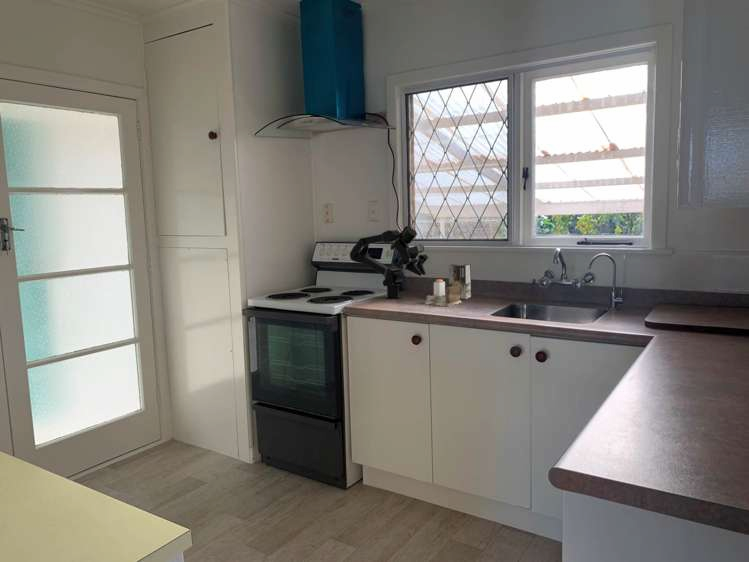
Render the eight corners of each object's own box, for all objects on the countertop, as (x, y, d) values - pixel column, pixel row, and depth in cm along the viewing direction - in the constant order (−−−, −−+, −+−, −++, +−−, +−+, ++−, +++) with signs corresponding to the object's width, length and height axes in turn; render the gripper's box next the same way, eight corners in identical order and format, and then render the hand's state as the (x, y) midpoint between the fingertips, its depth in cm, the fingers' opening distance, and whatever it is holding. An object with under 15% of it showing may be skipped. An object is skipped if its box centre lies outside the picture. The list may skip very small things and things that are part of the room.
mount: (425, 304, 269) (424, 286, 268) (438, 300, 277) (438, 283, 276) (447, 306, 261) (447, 288, 260) (461, 303, 269) (461, 285, 268)
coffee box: (471, 297, 285) (471, 264, 282) (466, 299, 279) (465, 265, 277) (454, 295, 289) (454, 263, 287) (448, 297, 284) (448, 264, 282)
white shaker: (432, 300, 270) (432, 280, 268) (438, 298, 274) (438, 278, 272) (440, 301, 267) (440, 280, 266) (446, 299, 271) (446, 279, 269)
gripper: (401, 240, 269) (420, 265, 263) (424, 237, 283) (444, 261, 277) (388, 256, 275) (407, 281, 269) (412, 253, 289) (430, 276, 283)
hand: (422, 274), depth 275 cm, fingers open, 3 cm apart
